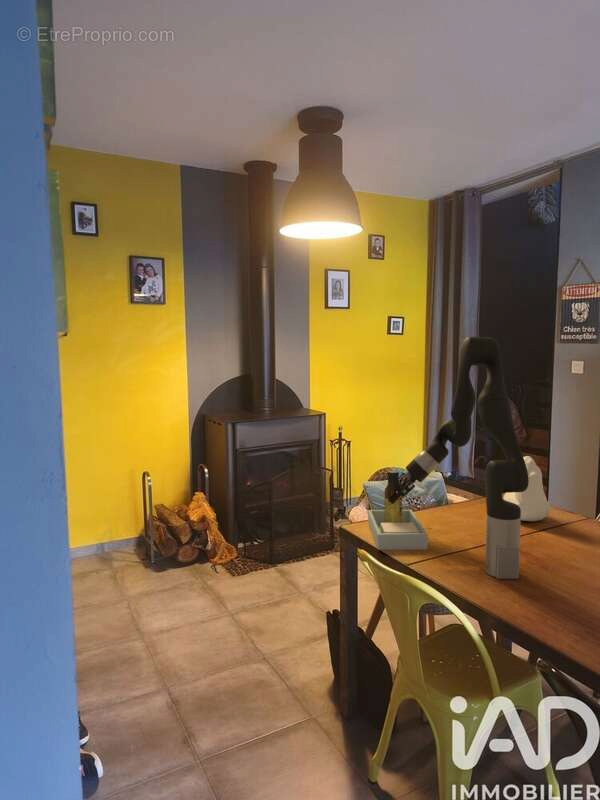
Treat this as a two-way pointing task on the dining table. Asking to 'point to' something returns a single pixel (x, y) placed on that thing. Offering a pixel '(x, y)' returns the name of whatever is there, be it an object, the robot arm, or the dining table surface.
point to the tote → (397, 539)
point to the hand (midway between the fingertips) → (388, 499)
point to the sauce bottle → (395, 510)
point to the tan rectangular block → (398, 528)
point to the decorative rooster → (531, 495)
